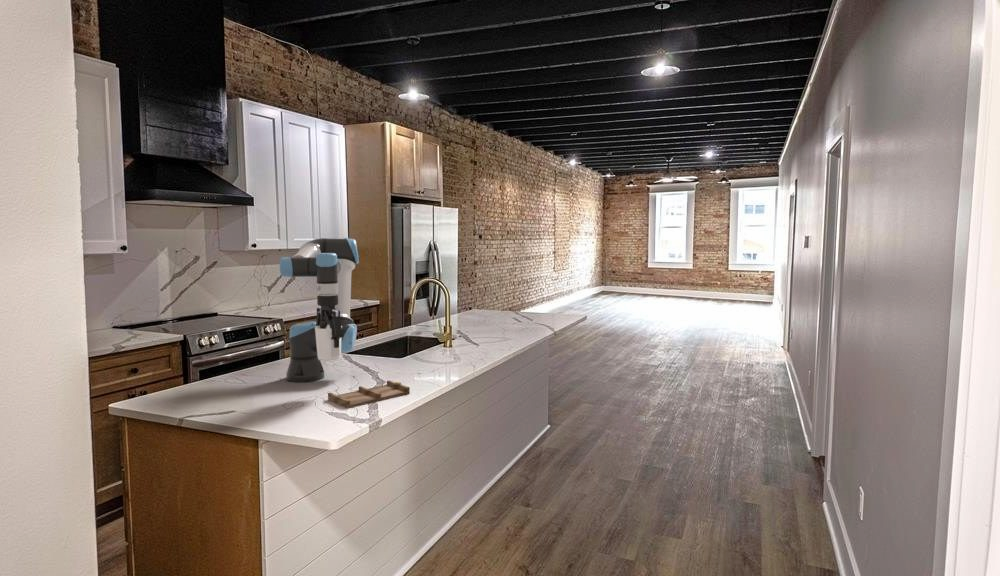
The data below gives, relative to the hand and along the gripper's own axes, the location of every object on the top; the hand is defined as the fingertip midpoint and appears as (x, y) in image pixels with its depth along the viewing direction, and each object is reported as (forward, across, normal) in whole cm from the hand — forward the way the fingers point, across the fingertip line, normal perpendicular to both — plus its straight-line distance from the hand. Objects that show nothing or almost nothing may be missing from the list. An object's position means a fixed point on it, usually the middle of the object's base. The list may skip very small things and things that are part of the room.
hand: (329, 353), depth 213 cm
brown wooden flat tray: (+15, +14, +8) cm, 22 cm away
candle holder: (+2, 0, 0) cm, 2 cm away
